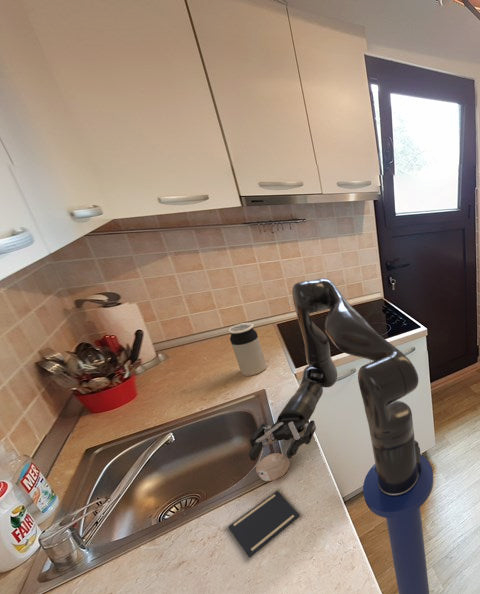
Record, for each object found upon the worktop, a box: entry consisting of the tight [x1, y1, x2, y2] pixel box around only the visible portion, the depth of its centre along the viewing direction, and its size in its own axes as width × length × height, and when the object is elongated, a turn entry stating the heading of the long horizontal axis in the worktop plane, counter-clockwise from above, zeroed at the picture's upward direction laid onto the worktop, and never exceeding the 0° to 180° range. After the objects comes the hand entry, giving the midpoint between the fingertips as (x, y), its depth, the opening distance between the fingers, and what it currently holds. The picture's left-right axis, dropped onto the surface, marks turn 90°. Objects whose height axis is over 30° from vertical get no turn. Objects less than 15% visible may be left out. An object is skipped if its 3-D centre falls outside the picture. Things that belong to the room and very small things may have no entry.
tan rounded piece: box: [255, 452, 291, 482], centre depth 80 cm, size 7×6×8 cm
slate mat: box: [228, 490, 300, 558], centre depth 71 cm, size 10×10×1 cm
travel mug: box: [227, 322, 268, 377], centre depth 119 cm, size 8×8×18 cm
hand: (270, 457), depth 79 cm, fingers open, 8 cm apart
